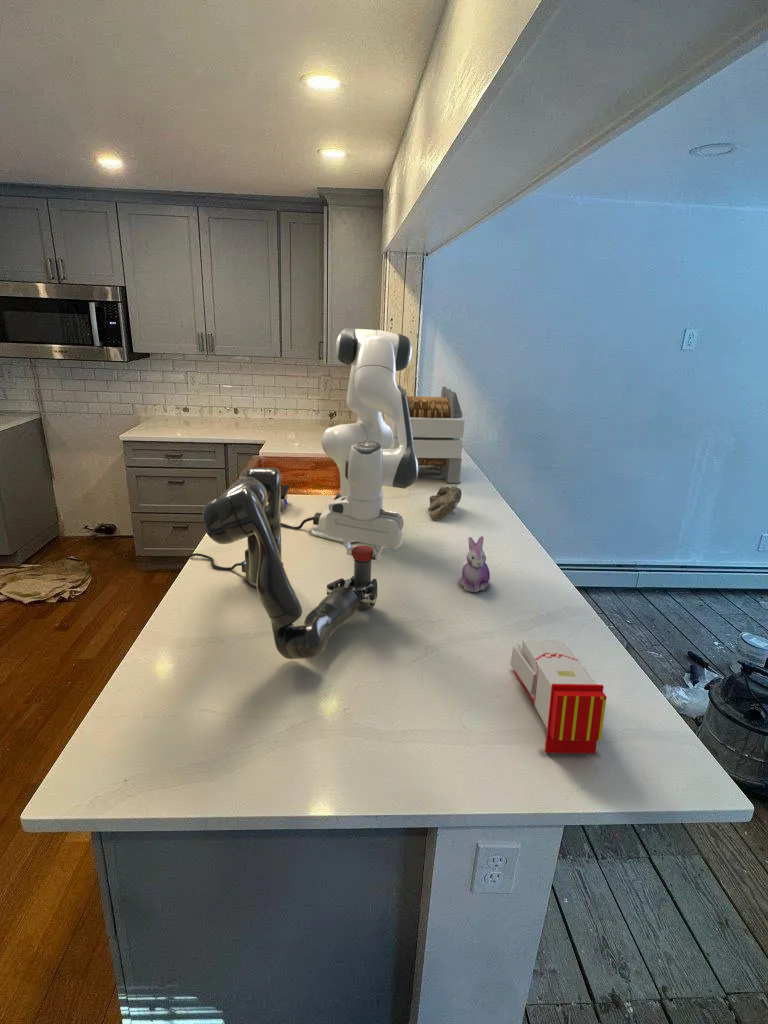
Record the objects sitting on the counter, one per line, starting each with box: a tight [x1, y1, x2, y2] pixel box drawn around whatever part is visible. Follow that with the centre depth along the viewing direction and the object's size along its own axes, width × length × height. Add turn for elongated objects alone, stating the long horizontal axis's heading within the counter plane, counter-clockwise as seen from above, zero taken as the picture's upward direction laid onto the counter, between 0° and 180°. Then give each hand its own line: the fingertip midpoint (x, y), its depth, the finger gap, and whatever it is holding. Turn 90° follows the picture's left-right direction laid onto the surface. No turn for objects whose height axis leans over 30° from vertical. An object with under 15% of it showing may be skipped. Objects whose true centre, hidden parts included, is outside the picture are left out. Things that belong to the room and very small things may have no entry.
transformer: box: [385, 384, 465, 484], centre depth 268 cm, size 34×33×41 cm
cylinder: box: [353, 558, 373, 610], centre depth 148 cm, size 4×4×16 cm
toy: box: [510, 639, 607, 754], centre depth 114 cm, size 12×13×30 cm
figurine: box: [460, 535, 491, 593], centre depth 162 cm, size 9×10×15 cm
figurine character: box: [267, 484, 290, 513], centre depth 219 cm, size 7×8×15 cm
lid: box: [352, 544, 375, 561], centre depth 146 cm, size 5×5×2 cm
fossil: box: [427, 486, 462, 521], centre depth 221 cm, size 22×10×15 cm
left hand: (366, 579), depth 151 cm, fingers closed on cylinder, 4 cm apart
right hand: (362, 557), depth 146 cm, fingers open, 6 cm apart
